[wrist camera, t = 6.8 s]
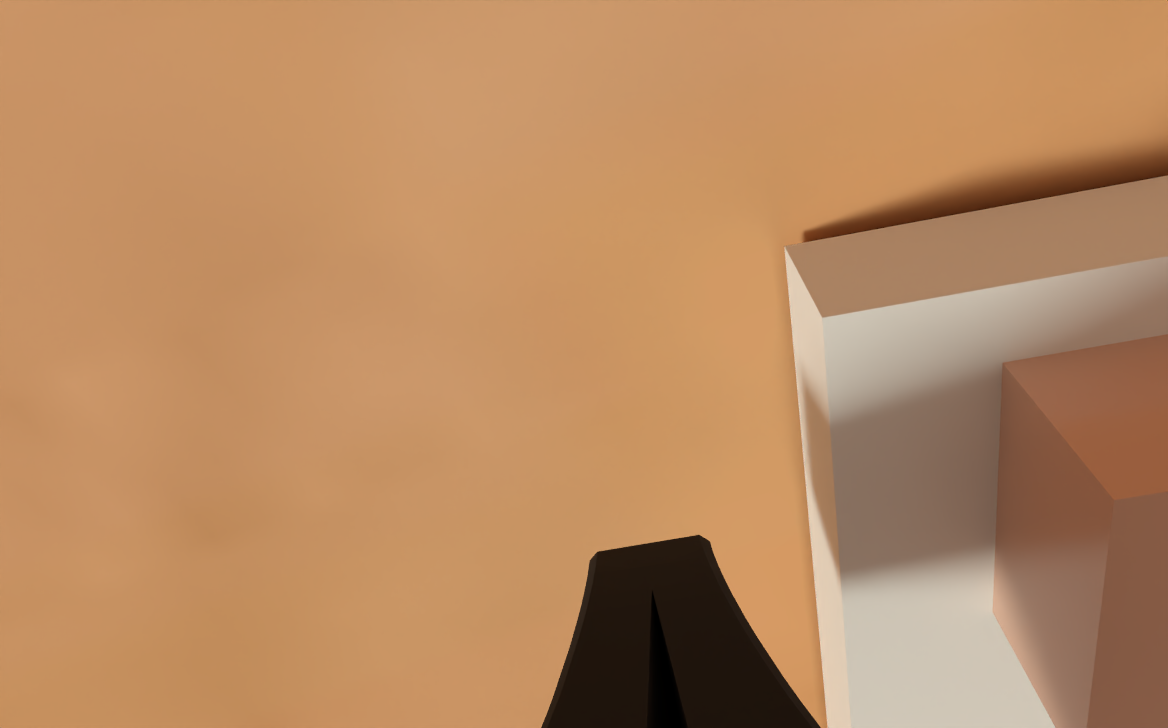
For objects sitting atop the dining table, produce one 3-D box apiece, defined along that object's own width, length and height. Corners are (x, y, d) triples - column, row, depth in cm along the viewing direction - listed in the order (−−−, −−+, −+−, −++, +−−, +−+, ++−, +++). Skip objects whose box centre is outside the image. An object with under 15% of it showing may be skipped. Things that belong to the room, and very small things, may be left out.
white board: (1332, 708, 17) (1419, 808, 15) (832, 779, 18) (862, 884, 16) (1520, 110, 12) (1689, 162, 10) (784, 246, 12) (821, 317, 10)
